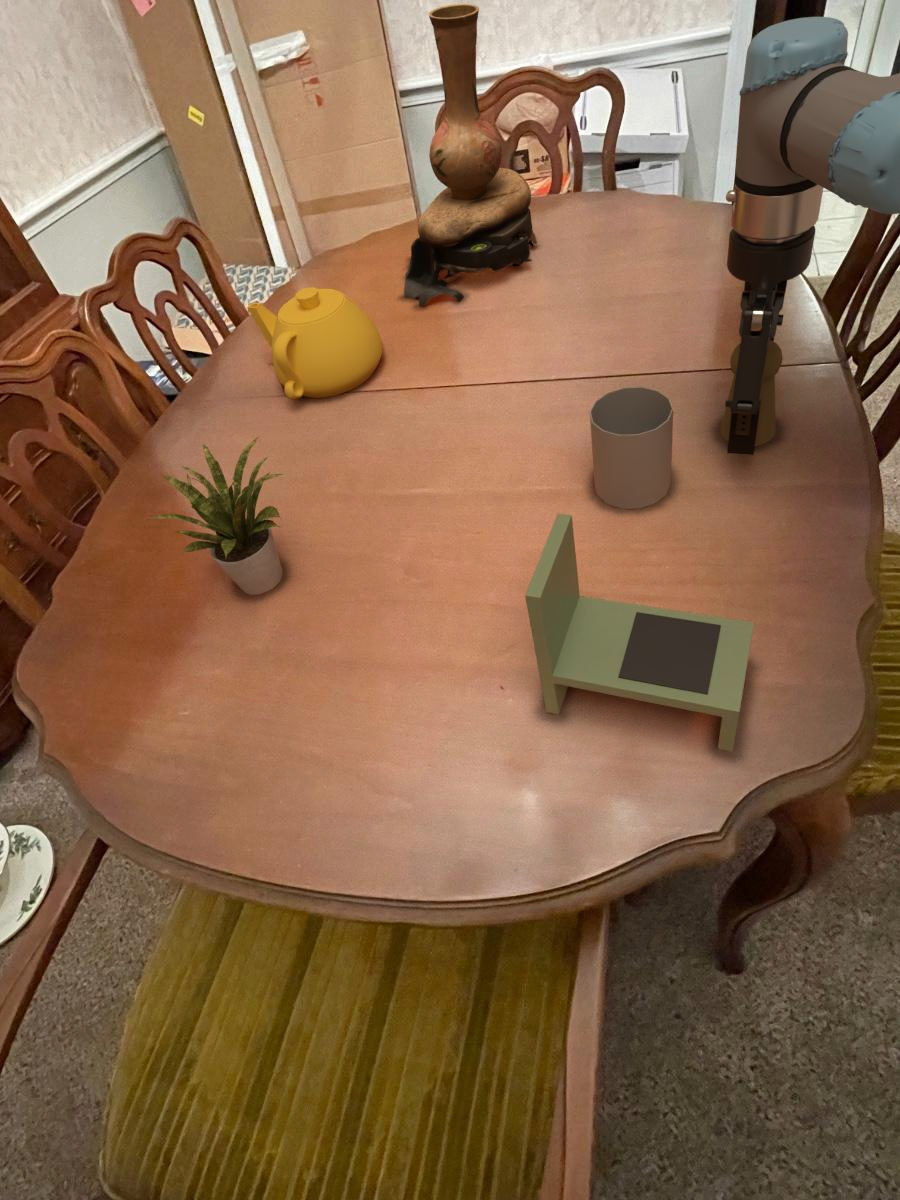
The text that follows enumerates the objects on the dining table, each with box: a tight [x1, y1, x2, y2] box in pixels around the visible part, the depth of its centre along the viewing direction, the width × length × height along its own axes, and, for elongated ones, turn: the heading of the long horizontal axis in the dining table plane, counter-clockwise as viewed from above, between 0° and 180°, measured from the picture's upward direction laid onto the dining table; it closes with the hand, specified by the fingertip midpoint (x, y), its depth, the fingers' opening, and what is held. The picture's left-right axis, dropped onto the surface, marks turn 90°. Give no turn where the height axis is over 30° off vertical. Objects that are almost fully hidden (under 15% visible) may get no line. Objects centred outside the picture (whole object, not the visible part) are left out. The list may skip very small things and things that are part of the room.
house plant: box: [147, 435, 285, 596], centre depth 81 cm, size 14×14×16 cm
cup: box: [589, 386, 674, 510], centre depth 82 cm, size 8×8×10 cm
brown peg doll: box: [719, 340, 783, 447], centre depth 84 cm, size 6×6×11 cm
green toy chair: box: [524, 513, 755, 753], centre depth 62 cm, size 16×9×16 cm, turn 69°
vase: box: [403, 3, 538, 308], centre depth 116 cm, size 24×22×35 cm
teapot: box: [246, 286, 384, 400], centre depth 110 cm, size 20×19×13 cm
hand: (748, 414), depth 86 cm, fingers open, 13 cm apart
